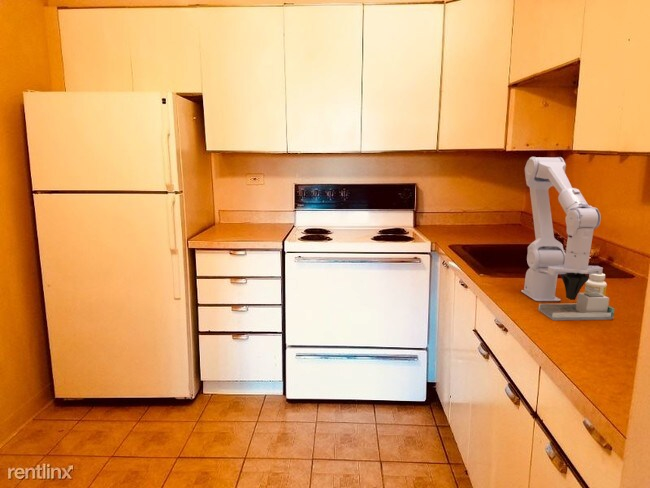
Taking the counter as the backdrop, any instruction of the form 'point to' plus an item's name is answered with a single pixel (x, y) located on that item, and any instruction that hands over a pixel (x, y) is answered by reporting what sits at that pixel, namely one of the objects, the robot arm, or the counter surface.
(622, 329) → the counter surface
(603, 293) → the supplement bottle
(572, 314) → the rail plate
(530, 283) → the robot arm
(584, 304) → the block
